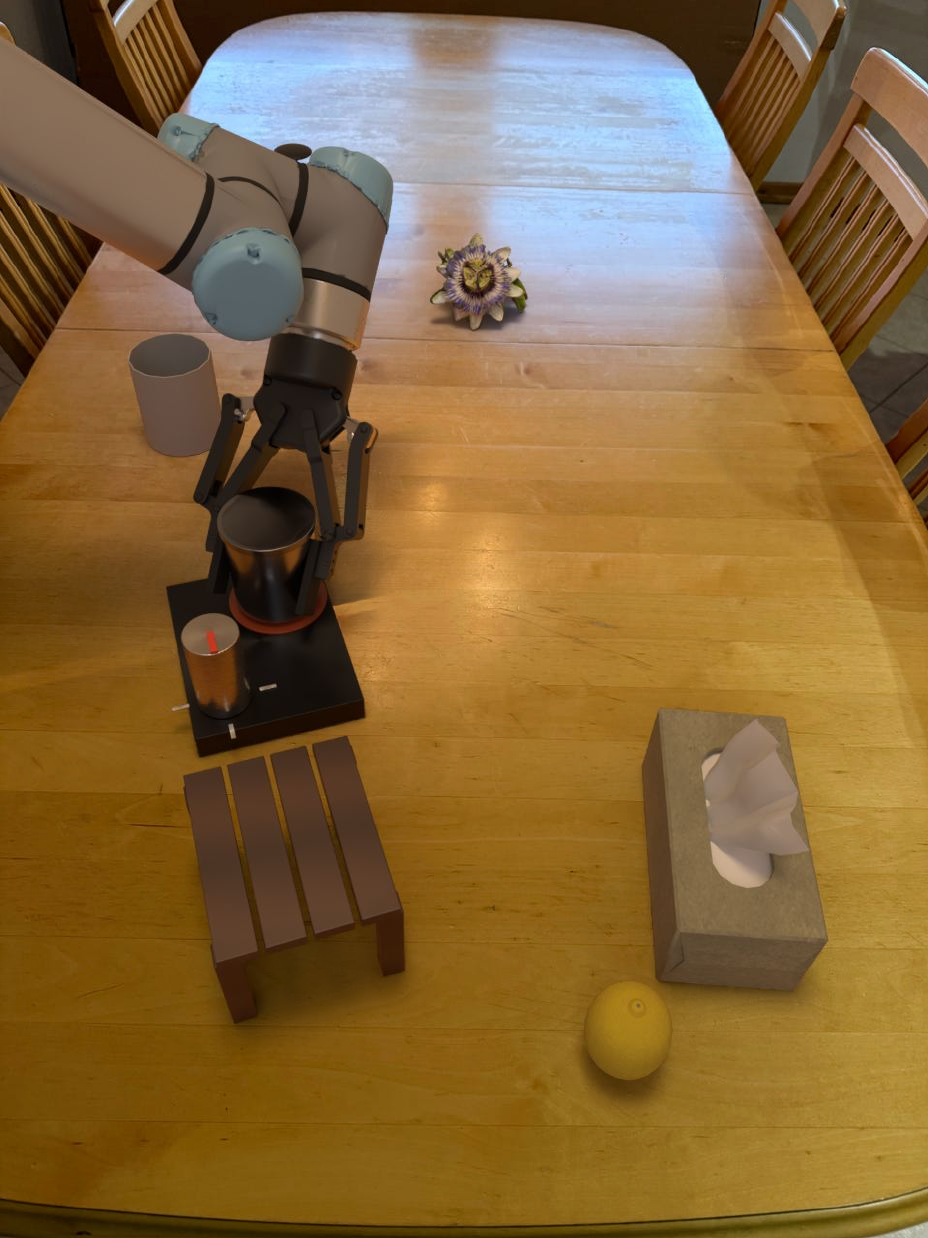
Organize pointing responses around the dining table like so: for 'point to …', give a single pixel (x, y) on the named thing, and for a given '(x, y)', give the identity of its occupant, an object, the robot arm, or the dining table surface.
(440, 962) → the dining table surface
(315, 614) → the burner
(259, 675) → the hob
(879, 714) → the dining table surface
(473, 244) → the passion flower
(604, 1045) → the lemon
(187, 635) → the hob knob
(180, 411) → the cup
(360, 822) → the drying rack
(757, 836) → the tissue box
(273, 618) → the pot
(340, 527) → the robot arm
